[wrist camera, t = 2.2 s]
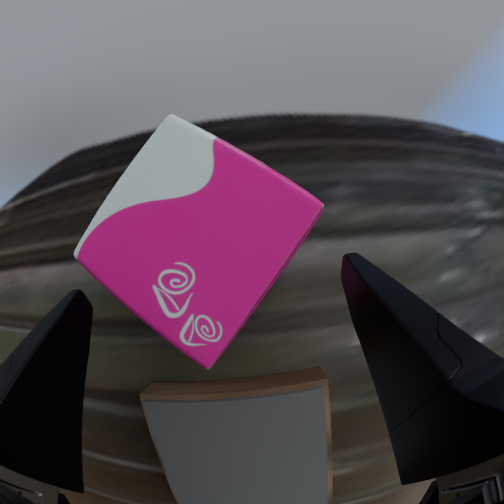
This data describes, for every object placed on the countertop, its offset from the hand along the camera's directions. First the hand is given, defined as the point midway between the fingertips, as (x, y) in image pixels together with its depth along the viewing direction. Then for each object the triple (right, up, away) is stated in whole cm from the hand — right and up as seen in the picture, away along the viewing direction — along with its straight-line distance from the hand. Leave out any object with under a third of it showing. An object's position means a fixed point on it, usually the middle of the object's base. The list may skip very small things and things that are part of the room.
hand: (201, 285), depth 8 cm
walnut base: (+1, -14, +8) cm, 16 cm away
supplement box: (0, 0, +10) cm, 10 cm away
